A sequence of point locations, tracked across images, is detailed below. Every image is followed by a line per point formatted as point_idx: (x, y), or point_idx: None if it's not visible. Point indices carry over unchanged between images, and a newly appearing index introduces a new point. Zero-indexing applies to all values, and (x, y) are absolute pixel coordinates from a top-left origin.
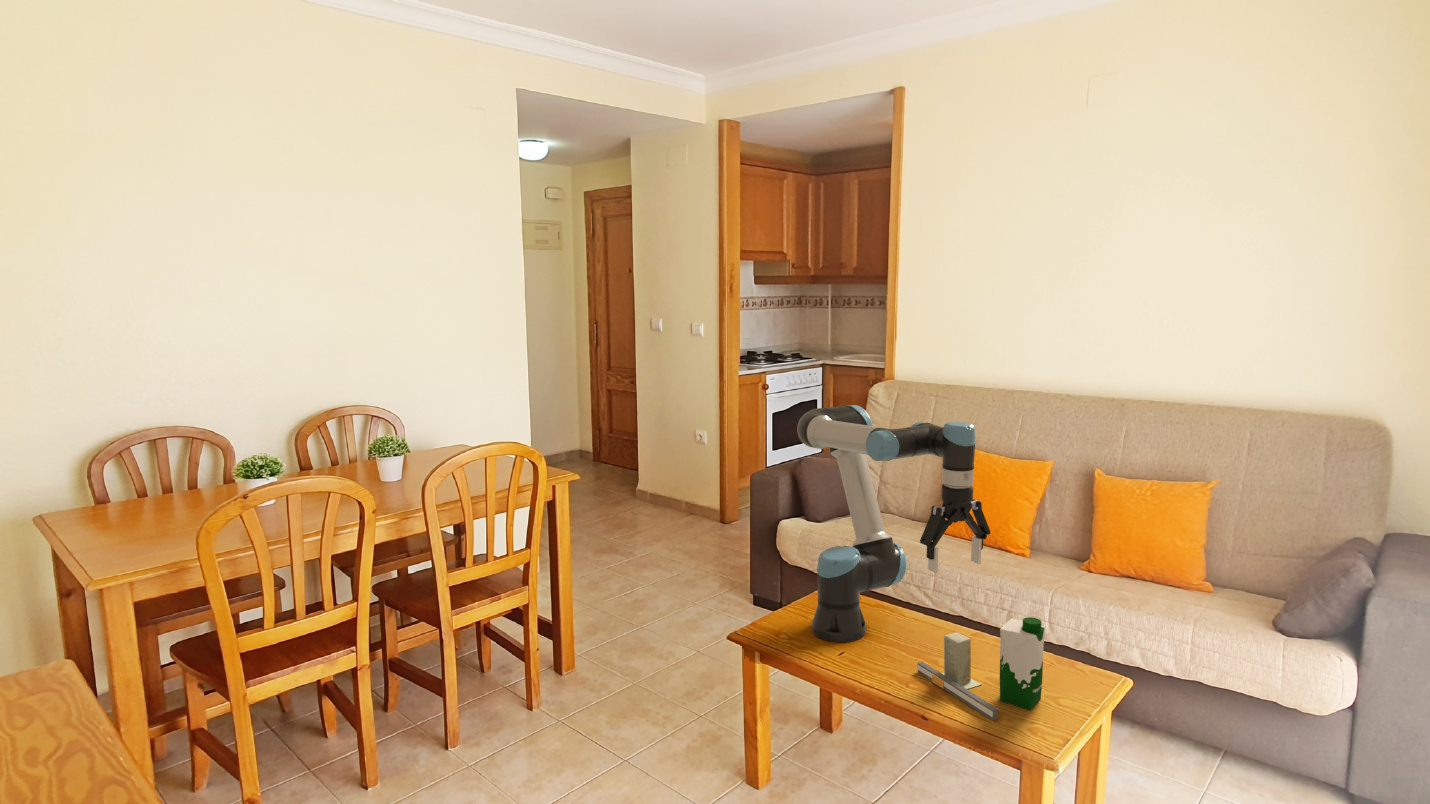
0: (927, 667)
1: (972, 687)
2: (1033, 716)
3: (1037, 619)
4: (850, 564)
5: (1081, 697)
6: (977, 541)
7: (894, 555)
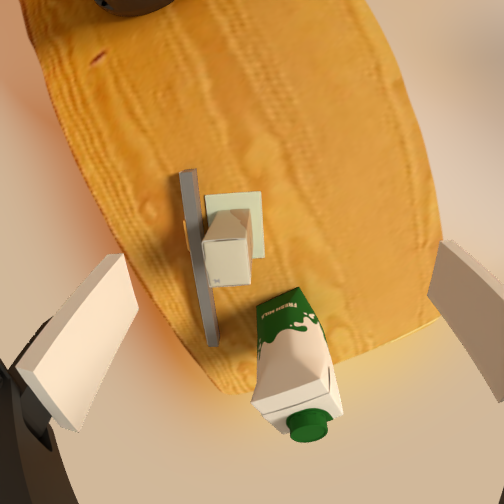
0: (186, 198)
1: None
2: None
3: (325, 431)
4: None
5: (367, 333)
6: (498, 375)
7: None
